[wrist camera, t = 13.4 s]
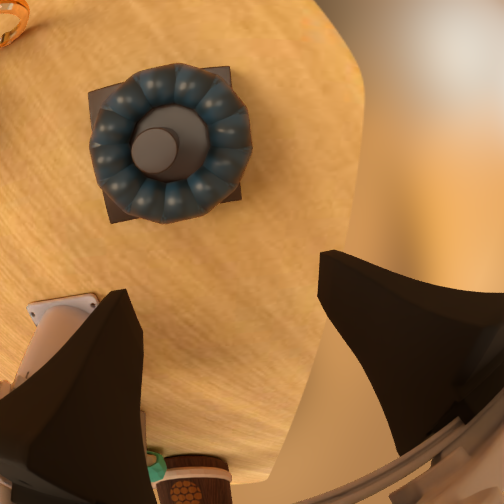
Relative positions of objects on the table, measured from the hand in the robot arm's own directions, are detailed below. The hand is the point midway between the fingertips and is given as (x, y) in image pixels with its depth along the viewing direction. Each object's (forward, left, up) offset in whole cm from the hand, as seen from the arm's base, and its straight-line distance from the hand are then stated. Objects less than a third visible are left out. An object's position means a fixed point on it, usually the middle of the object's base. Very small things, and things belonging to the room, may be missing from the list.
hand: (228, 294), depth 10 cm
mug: (-47, +15, -10) cm, 50 cm away
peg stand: (+5, +2, -10) cm, 12 cm away
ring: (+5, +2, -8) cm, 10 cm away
